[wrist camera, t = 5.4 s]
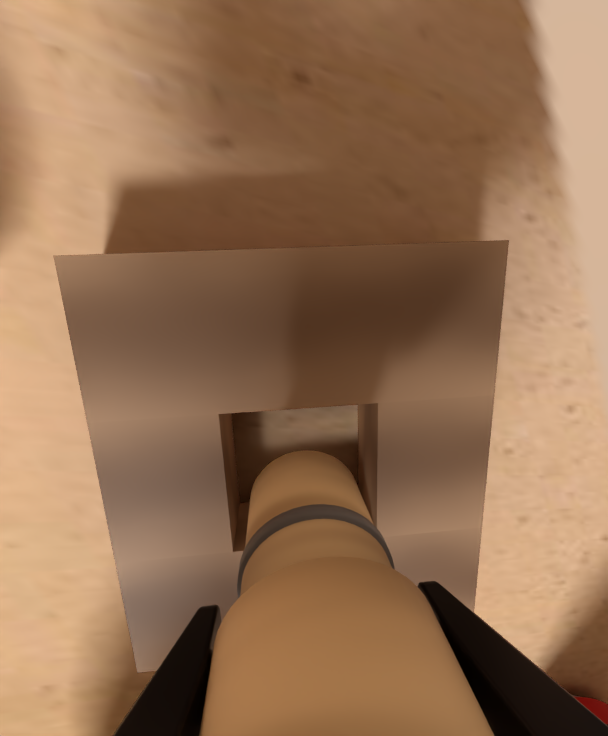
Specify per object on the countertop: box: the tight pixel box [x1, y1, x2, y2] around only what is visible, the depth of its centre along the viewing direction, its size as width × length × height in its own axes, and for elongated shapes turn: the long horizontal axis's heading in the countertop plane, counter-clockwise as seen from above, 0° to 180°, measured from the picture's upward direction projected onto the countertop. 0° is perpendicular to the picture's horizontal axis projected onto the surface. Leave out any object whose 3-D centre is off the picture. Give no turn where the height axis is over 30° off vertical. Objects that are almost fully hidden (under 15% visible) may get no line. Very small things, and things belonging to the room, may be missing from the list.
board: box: [54, 240, 509, 673], centre depth 14 cm, size 16×14×3 cm
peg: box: [199, 450, 494, 736], centre depth 7 cm, size 4×4×10 cm
